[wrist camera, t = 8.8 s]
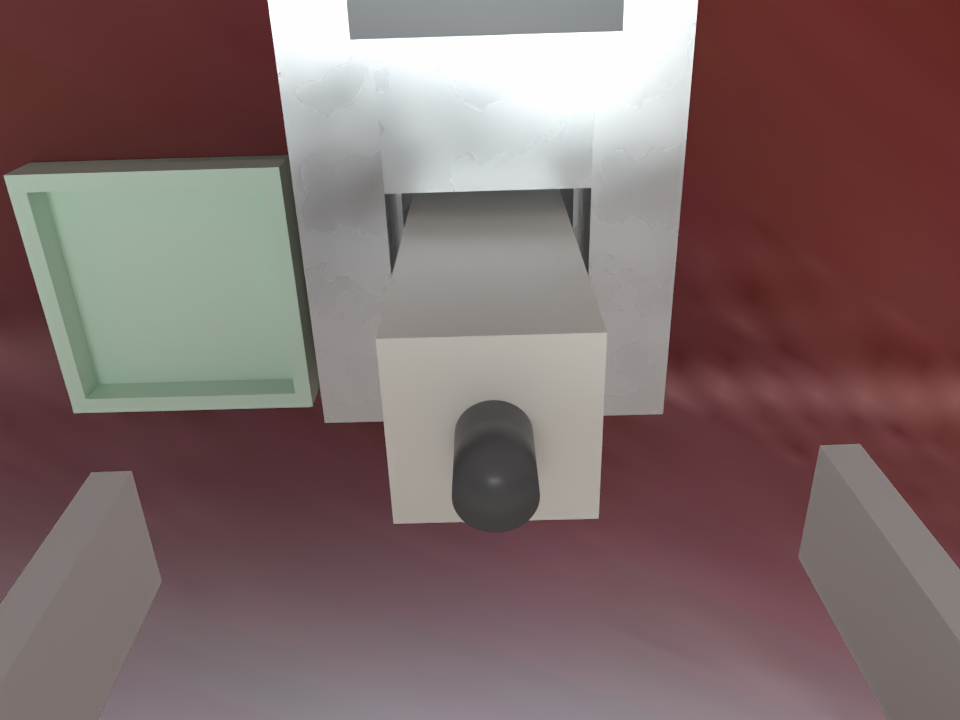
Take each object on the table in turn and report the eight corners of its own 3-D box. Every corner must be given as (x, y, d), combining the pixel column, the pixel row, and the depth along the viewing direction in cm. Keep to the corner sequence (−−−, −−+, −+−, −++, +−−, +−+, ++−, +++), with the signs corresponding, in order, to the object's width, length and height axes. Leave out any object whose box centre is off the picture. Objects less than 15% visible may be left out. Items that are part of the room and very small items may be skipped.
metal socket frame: (341, 370, 33) (324, 422, 29) (262, -288, 23) (223, -331, 19) (642, 362, 32) (662, 414, 29) (688, -303, 23) (727, -349, 19)
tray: (93, 390, 33) (74, 413, 31) (30, 162, 29) (3, 175, 27) (320, 384, 33) (312, 406, 31) (289, 154, 29) (278, 167, 27)
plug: (414, 189, 28) (361, 393, 15) (557, 185, 28) (625, 386, 15) (422, 320, 31) (383, 593, 18) (556, 317, 30) (613, 587, 18)
